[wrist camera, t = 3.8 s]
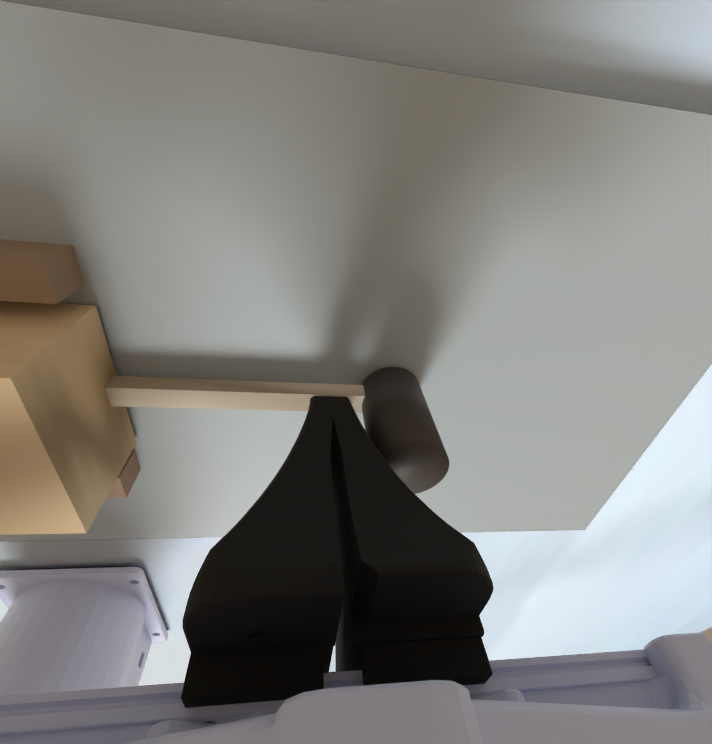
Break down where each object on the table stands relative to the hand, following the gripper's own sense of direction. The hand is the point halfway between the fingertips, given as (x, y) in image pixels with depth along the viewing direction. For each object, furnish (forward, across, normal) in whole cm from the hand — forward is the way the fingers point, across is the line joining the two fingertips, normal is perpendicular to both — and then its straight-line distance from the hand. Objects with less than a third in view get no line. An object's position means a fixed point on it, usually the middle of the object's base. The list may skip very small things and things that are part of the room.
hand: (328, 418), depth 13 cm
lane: (+3, +2, 0) cm, 4 cm away
